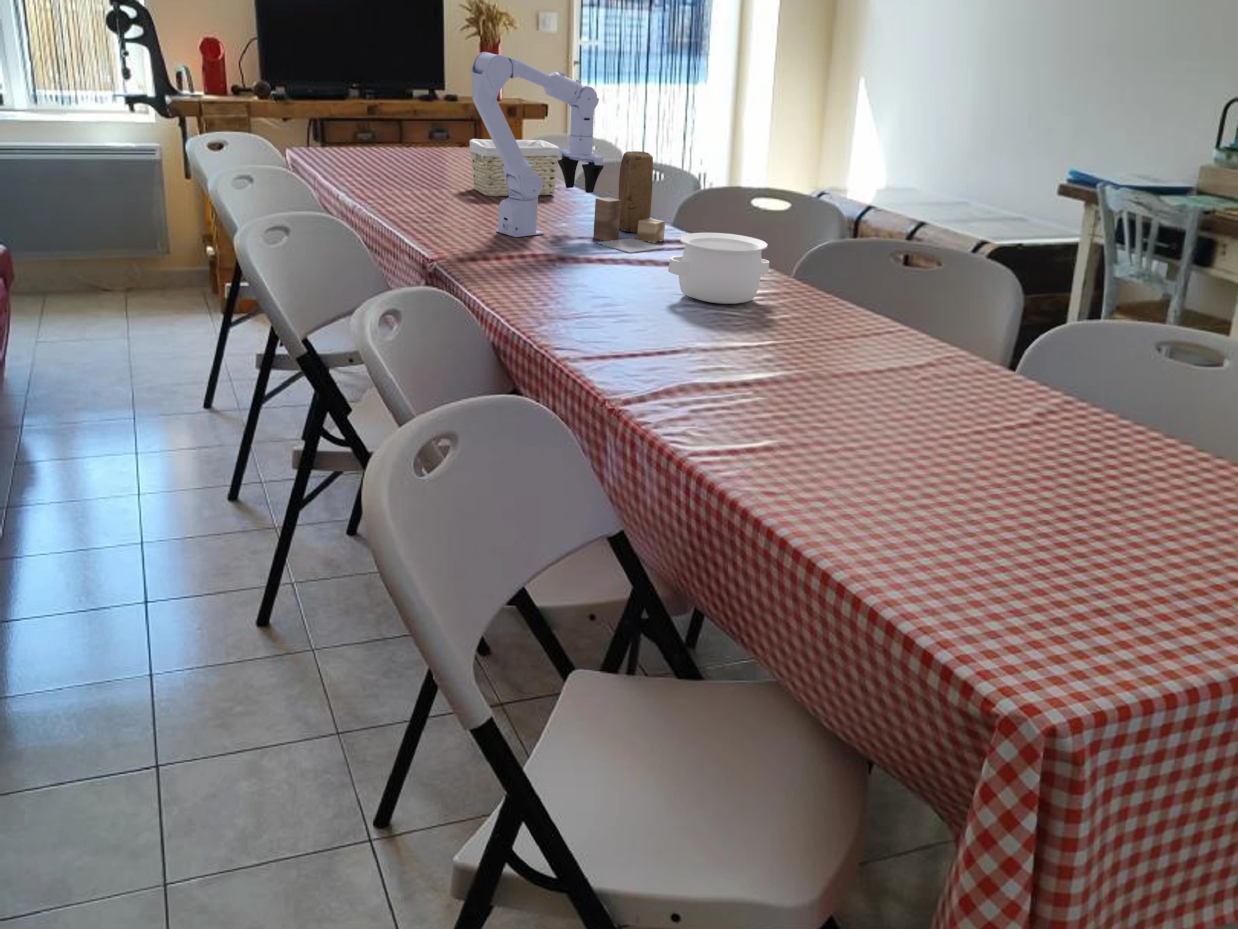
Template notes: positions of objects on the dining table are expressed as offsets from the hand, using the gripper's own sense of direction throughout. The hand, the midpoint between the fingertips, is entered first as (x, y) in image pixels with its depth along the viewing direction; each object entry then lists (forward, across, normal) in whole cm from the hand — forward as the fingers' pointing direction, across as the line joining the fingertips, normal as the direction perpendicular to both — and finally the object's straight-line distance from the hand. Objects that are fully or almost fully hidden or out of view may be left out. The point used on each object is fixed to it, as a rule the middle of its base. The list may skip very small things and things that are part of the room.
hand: (579, 189), depth 293 cm
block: (+11, -5, -15) cm, 19 cm away
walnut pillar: (+10, -11, 0) cm, 15 cm away
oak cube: (+11, -17, -10) cm, 22 cm away
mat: (+11, -20, 0) cm, 23 cm away
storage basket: (+11, +53, -21) cm, 58 cm away
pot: (+11, -67, +20) cm, 71 cm away
